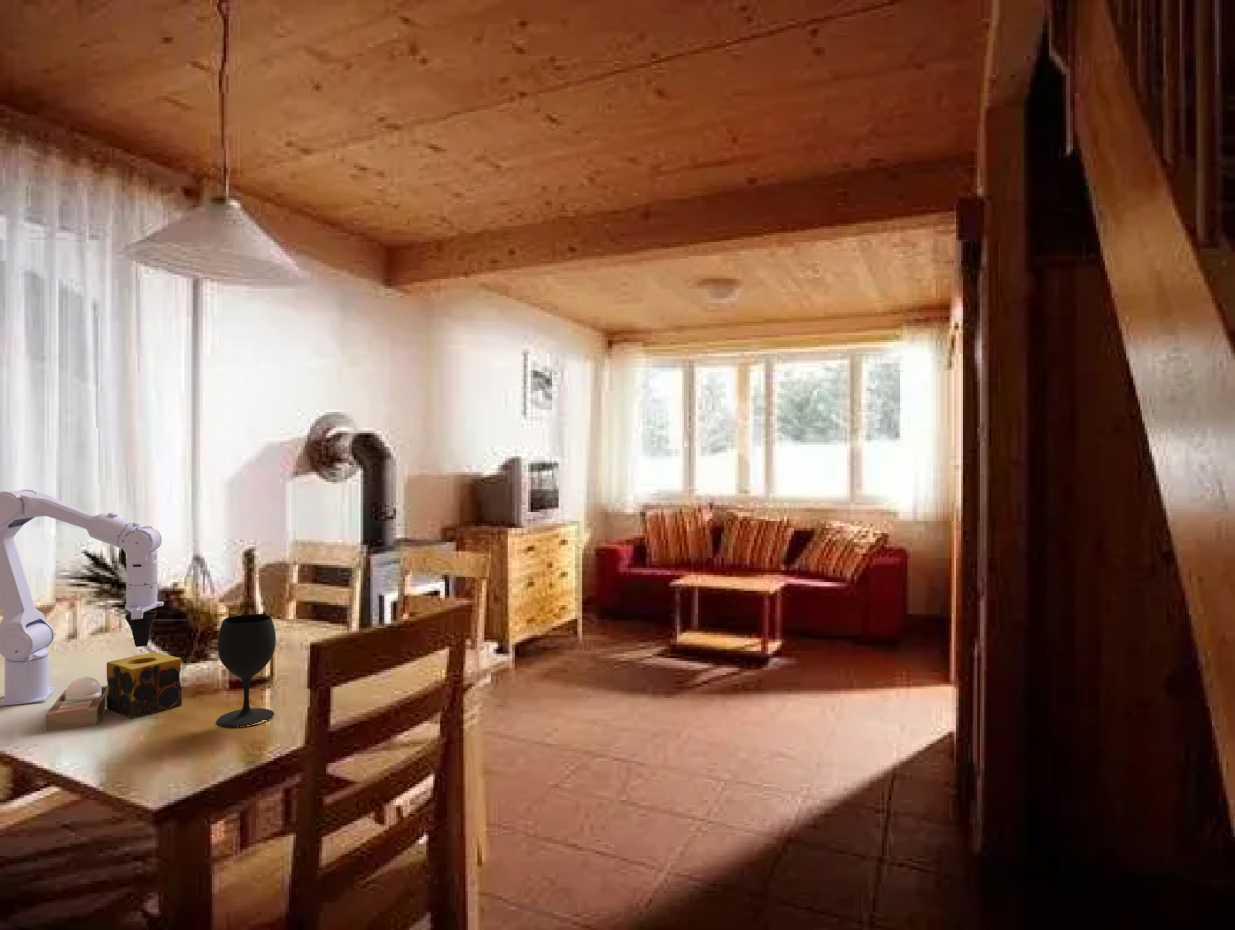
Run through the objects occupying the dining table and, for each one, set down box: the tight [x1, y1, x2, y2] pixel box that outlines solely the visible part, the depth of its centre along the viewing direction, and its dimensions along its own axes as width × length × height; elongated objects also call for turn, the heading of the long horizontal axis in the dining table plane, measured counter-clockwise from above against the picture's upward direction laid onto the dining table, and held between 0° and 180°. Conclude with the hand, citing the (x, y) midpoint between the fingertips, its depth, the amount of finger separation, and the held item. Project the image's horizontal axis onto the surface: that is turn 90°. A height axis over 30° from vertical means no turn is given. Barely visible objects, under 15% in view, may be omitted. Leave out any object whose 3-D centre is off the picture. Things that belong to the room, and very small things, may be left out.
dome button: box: [65, 676, 102, 700], centre depth 154 cm, size 6×6×6 cm
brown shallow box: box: [44, 685, 108, 731], centre depth 151 cm, size 16×8×3 cm, turn 26°
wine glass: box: [216, 613, 277, 728], centre depth 150 cm, size 10×10×20 cm
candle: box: [106, 651, 183, 719], centre depth 156 cm, size 10×10×10 cm
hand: (141, 645), depth 164 cm, fingers closed
